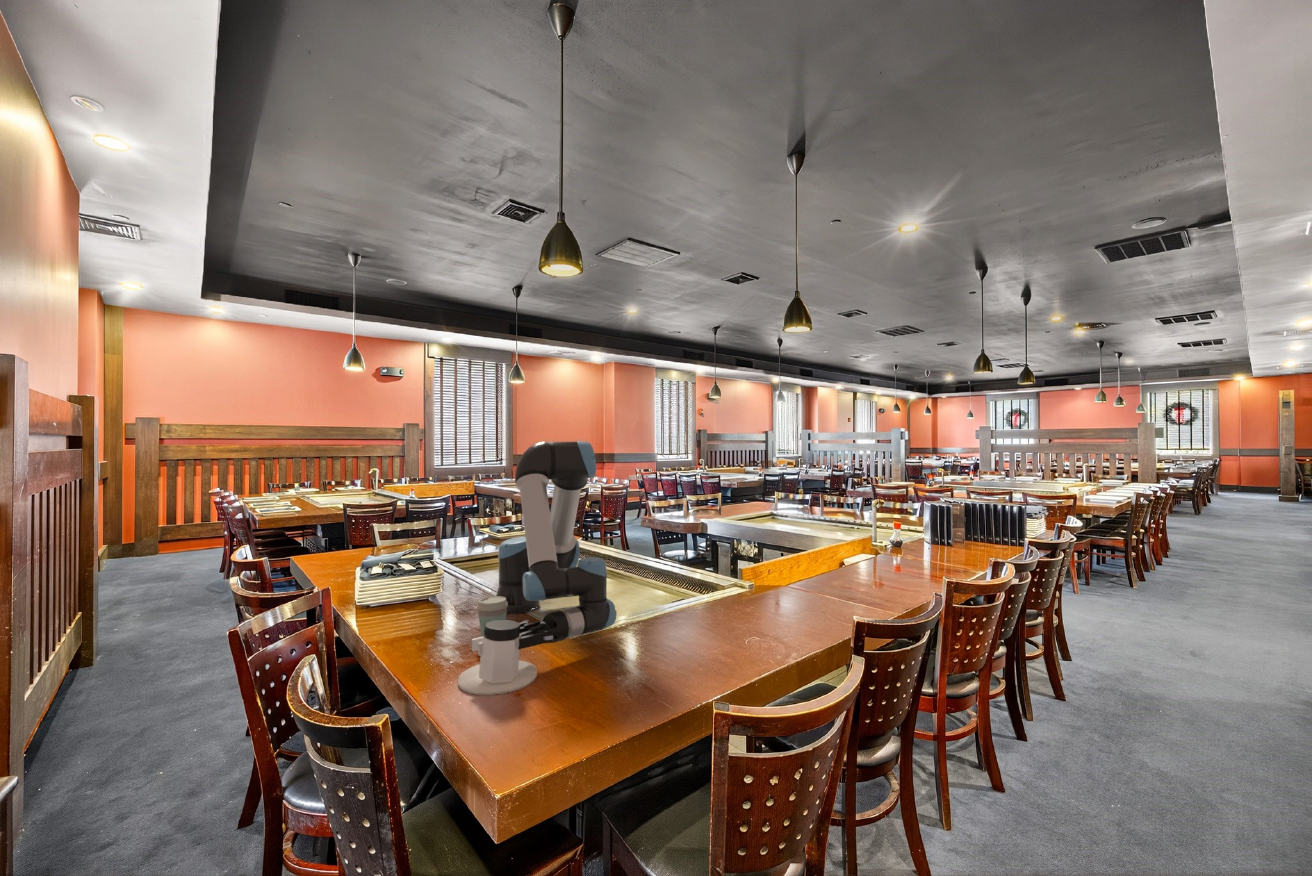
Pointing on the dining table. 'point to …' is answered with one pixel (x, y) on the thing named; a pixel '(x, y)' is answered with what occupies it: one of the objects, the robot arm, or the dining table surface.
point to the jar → (500, 651)
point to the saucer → (478, 686)
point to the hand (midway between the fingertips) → (475, 647)
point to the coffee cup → (491, 610)
